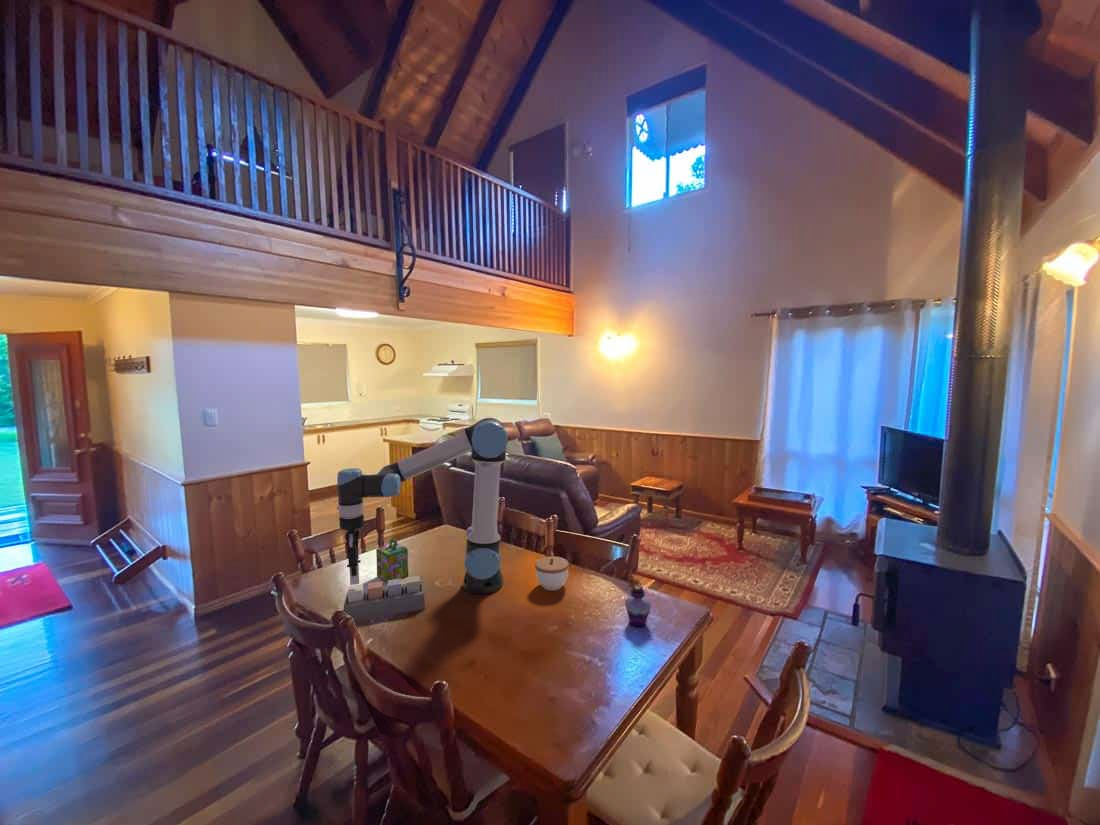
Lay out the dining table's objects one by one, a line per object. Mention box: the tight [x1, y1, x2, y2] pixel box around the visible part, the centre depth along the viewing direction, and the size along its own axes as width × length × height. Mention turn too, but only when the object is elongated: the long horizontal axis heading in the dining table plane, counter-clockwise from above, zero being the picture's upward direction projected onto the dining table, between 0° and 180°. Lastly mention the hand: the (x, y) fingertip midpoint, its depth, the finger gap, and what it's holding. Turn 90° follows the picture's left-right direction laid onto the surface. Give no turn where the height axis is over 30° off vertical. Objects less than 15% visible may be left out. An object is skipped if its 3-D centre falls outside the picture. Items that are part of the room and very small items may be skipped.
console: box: [343, 580, 426, 622], centre depth 158 cm, size 25×10×6 cm, turn 108°
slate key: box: [386, 578, 402, 597], centre depth 158 cm, size 4×4×5 cm
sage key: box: [405, 575, 421, 594], centre depth 160 cm, size 4×4×5 cm
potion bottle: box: [624, 585, 652, 629], centre depth 146 cm, size 9×9×12 cm
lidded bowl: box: [534, 556, 570, 592], centre depth 172 cm, size 13×13×11 cm
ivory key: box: [347, 583, 364, 603], centre depth 154 cm, size 4×4×5 cm
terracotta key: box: [367, 580, 384, 600], centre depth 156 cm, size 4×4×5 cm
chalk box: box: [375, 538, 410, 584], centre depth 182 cm, size 9×9×15 cm
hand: (354, 583), depth 154 cm, fingers closed
